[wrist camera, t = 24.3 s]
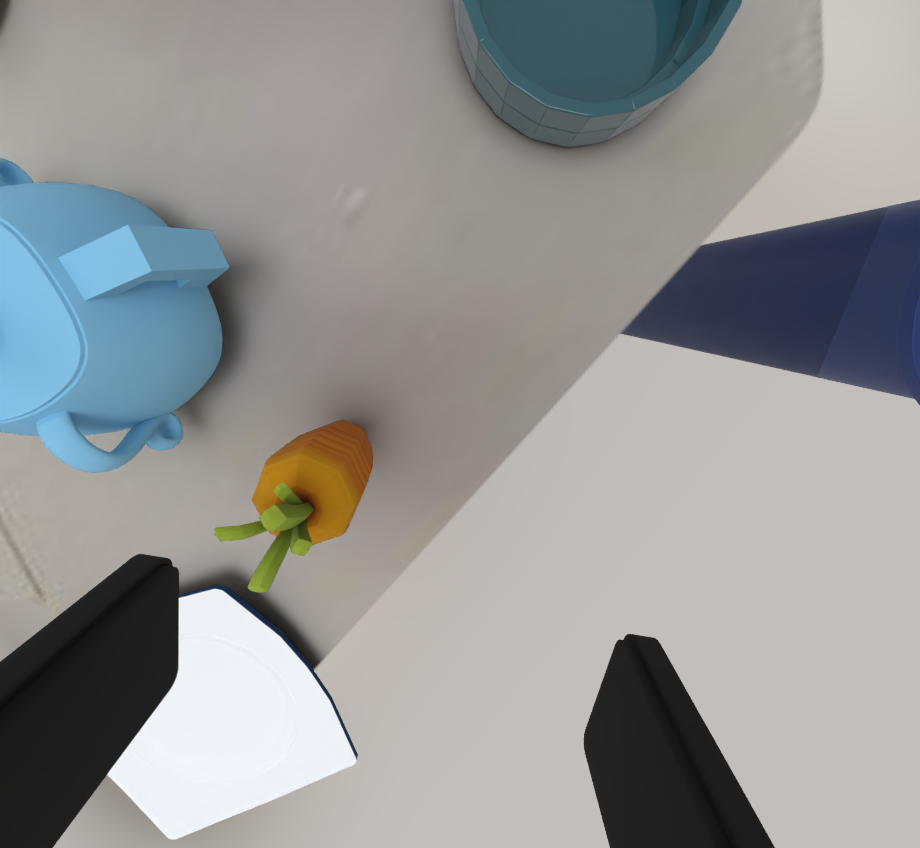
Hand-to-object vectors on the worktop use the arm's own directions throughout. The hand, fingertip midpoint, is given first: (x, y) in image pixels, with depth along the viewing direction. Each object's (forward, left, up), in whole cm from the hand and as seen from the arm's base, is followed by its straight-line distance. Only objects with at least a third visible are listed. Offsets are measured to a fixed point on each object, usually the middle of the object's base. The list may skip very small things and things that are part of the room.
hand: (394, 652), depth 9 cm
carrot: (+5, +3, -22) cm, 22 cm away
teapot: (+20, -2, -22) cm, 30 cm away
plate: (+14, +28, -22) cm, 38 cm away
